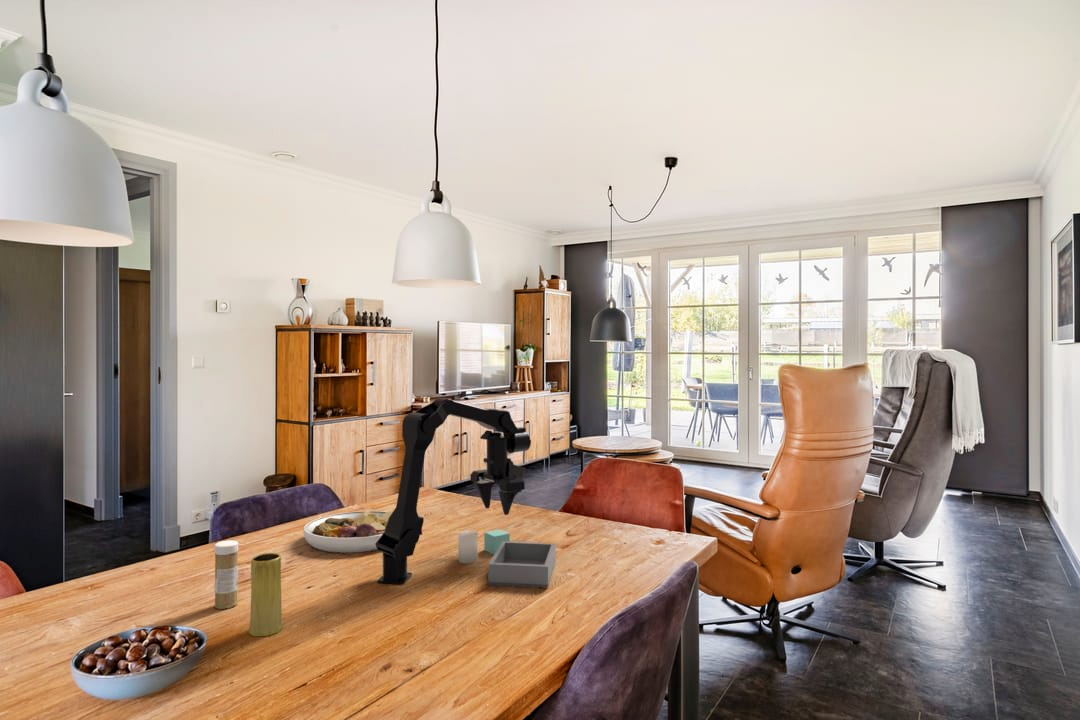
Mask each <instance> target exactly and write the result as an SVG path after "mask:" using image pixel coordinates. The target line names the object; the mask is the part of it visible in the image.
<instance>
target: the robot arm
mask: <svg viewBox="0 0 1080 720" xmlns="http://www.w3.org/2000/svg"><path fill="white" fill-rule="evenodd" d="M449 416H452V417H456V418H460V419H464V420H469V421H472V422H474V423H477V424H478V425H479V426H482V427H483V428H485V429H487V430H485V431H484V433H483V434H481V435H480V440H486V457H484V458H483V463H486V469H479V470H472V472H471V474H470V482H472V485H473V486H474V488H475V489H476V491H477V492H478V494H479V497H480V499H481V501H482V503H483V505H484V507H485V509H489V508H491V507H490V505H491V499H492V498H491V497H492V489H493V487H494V486H495V484H497V485H498V487H499V489H500V490H498V496H499V498H500V502H501V508H502V511H503V514H504V515H505V516H508V515H509V514H510V511H511V507H512V505H513V503H514V502H513V501H514V499H515V497H516V496H517V494H519V493H521V492H523V491H522V490H525V489H526V482H525V480H524V476H525V472H526V468H525V467H522V466H520V465H518V464H517V465H516V464H514V461H512V459H511V458H509V457H508V453H509V454H514V453H521V452H526V451H528V450H529V449H530V448H531V445H532V440H531V437H530V435H529V434H528V432H527V429H526V427H522V426H521V427H517V426H516V424H515V422H514V421H513V419H512V416H511V412H510V411H508V410H507V409H499V408H483V407H478V406H474V405H472V404H471V405H470V404H466V403H463V402H459V401H456V400H453V399H452V398H448V397H447V398H444V397H438V398H436V399H435V400H434V401H432V402H431V403H429V404H427V405H424V406H423V407H420V408H418V409H416V411H414V412H410V413H408V414H407V415H406V416H404V417H403V420H402V425H401V426H402V429H401V431H402V432H401V435H402V436H401V437H402V439H403V444H404V448H405V451H404V457H403V462H402V470H401V474H400V475H401V477H400V480H399V481H400V482H399V489H398V494H397V501H396V505H395V508H394V509H393V511H391V512H392V514H391V515H390V517H389V520H388V523H387V526H386V529H385V532H384V533H383V534H382V536H381V537H380V538H379V540H378V541H377V542H376V544H375V545H376V548H377V550H376V551H377V552H380V553H382V575H381V576H380V577H379V578H378V579H377V581H376V582H377V583H379V584H397V585H398V584H399V585H403V584H405V583H406V582H407V581H408V580H409V579H410V578H411V576H412V575H413V573H412V572H409V571H408V557H410V556H413V555H414V553H415V549H416V546H417V543H418V542H419V540H420V536H422V535H423V524H424V523H425V522H424V521H425V520H424V517H422V516H419V514H418V510H417V509H418V501H419V495H420V490H421V482H422V476H423V470H424V469H423V467H424V463H425V456H426V451H427V449H428V448H429V447H430V445H431V444H432V442H433V440H434V436H435V433H436V432H437V429H438V428H439V427H440V426H442V425H443V424H444V423H445V421H446V419H447V418H448V417H449ZM491 430H493V431H494V432H493V431H491Z"/></svg>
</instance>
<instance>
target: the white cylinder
mask: <svg viewBox="0 0 1080 720" xmlns="http://www.w3.org/2000/svg"><path fill="white" fill-rule="evenodd" d="M457 535H458V541H457V542H458V543H457V545H458V548H457V549H458V551H457V553H458V559H457V561H458V562H459V563H461V564H473V563H476V562H477V561H478V556H479V555H478V545H479V543H478V541H479V540H478V539H479V538H478V532H477V531H475V530H465V531H460V532H458V534H457Z"/></svg>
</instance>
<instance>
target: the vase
mask: <svg viewBox="0 0 1080 720" xmlns="http://www.w3.org/2000/svg"><path fill="white" fill-rule="evenodd" d="M250 569H251V570H250V574H251V575H250V579H251V580H250V581H251V582H250V590H251V591H250V592H251V593H250V622H249V628H248V634H249V635H250V634H251V635H250V636H252V635H254V636H253V637H255V636H265V637H268V635H270V636H273V635H275V634H274V633H276V634H278V633H279V632H280V630H281V629H282V630H283V627H284V624H283V615H282V557H281V554H279V553H276V552H264V553H260V554H257V555H254V556H253V557H252V558H251V564H250ZM277 632H278V633H277ZM272 634H273V635H272Z"/></svg>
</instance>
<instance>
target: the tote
mask: <svg viewBox="0 0 1080 720" xmlns="http://www.w3.org/2000/svg"><path fill="white" fill-rule="evenodd" d="M556 545H557V544H556V543H554V542H553V543H551V542H530V541H529V542H528V541H527V542H526V541H525V542H524V541H510V542H505V541H502V543H501V545H500V546H499V548H498V549H497V551H496V553H495V554H493V556H492V557H491V559H490V561H489V562H488V567H487V569H488V574H487V575H488V578H487V579H488V586H489V587H490V586H492V587H493V586H494V587H495V586H496V587H510V586H519V587H518V588H530V587H548V586H550V583H551V580H550V579H552V577H551V576H553V573H554V570H553V569H555V566H556V563H557V562H556V561H557V560H556V557H557V556H556V554H557V553H556ZM555 562H556V563H555ZM554 565H555V566H554ZM552 572H553V573H552ZM549 582H550V583H549ZM548 588H549V587H548Z"/></svg>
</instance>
